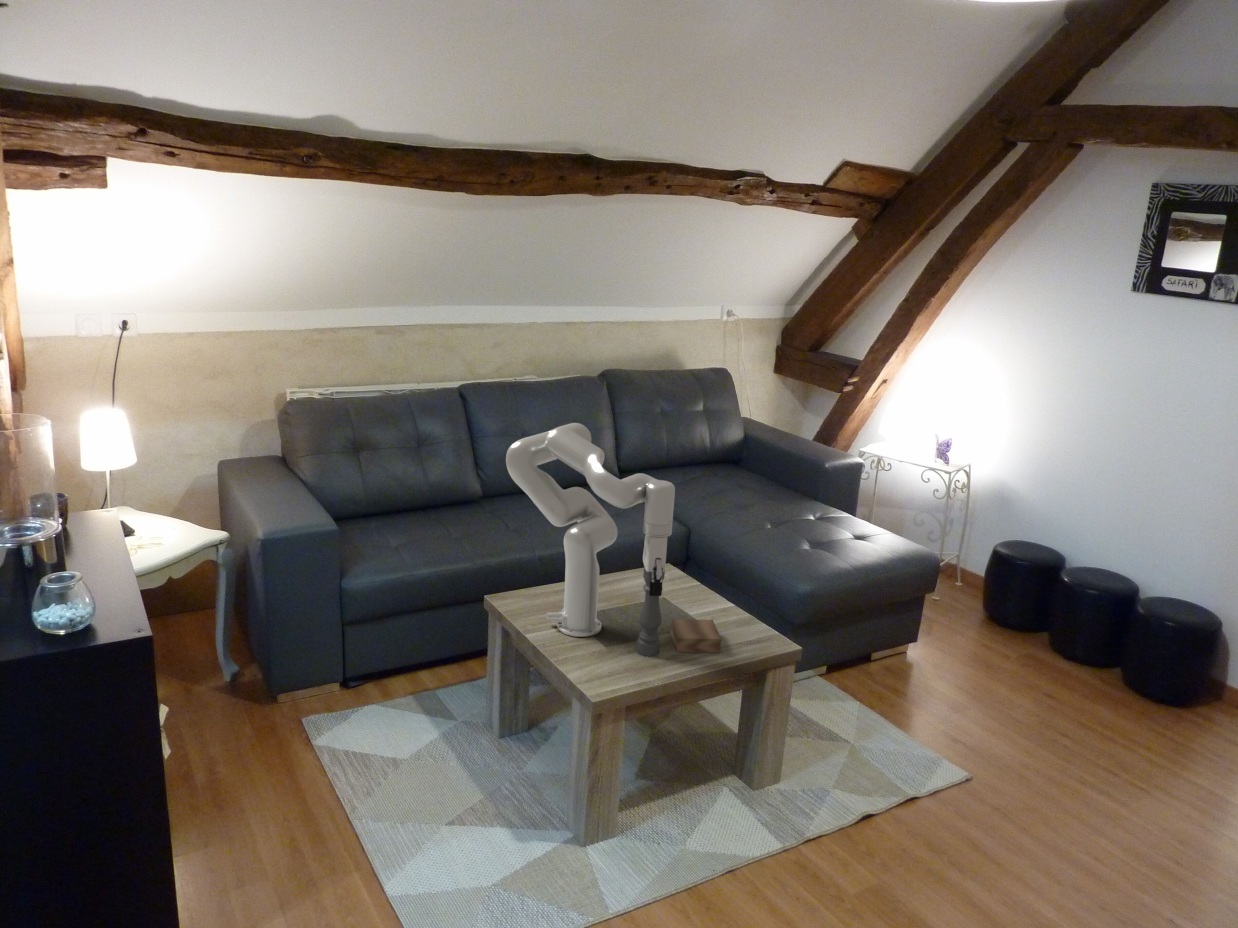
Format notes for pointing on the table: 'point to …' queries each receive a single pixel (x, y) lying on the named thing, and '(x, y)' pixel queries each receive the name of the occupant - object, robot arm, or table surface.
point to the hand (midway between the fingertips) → (653, 588)
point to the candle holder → (649, 621)
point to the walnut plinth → (695, 635)
